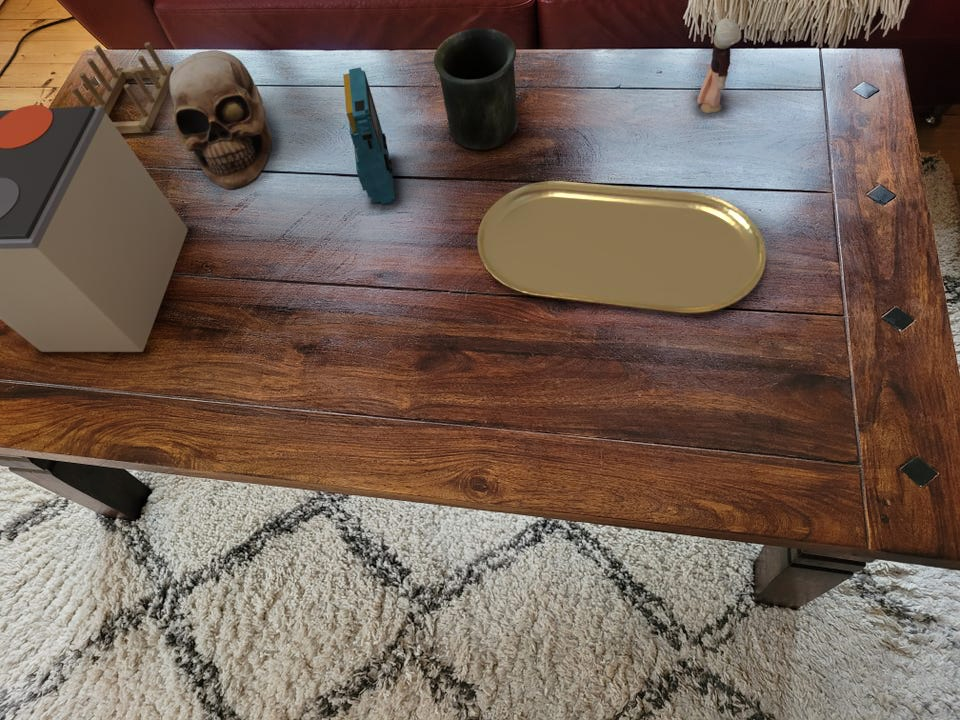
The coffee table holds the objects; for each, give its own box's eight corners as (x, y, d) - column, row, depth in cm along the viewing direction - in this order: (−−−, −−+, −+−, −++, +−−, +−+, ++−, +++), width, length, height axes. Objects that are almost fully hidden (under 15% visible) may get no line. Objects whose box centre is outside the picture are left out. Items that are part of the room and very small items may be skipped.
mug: (442, 154, 98) (427, 82, 87) (455, 87, 105) (443, 13, 95) (517, 154, 96) (511, 81, 86) (526, 86, 103) (521, 11, 93)
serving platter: (761, 330, 77) (764, 322, 76) (463, 293, 85) (461, 286, 83) (764, 207, 86) (768, 198, 85) (495, 183, 94) (494, 175, 92)
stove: (41, 352, 87) (-99, 241, 69) (96, 231, 97) (-14, 107, 79) (143, 352, 85) (27, 238, 67) (188, 229, 96) (98, 101, 77)
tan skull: (235, 195, 98) (187, 114, 87) (167, 161, 106) (116, 83, 95) (312, 133, 104) (276, 49, 93) (243, 105, 112) (202, 26, 101)
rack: (92, 134, 109) (64, 98, 103) (122, 75, 116) (98, 38, 110) (149, 132, 107) (125, 95, 101) (176, 72, 115) (154, 34, 109)
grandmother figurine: (690, 89, 99) (705, 6, 88) (717, 85, 99) (735, 1, 88) (702, 125, 95) (719, 42, 84) (730, 121, 95) (751, 38, 84)
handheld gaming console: (398, 204, 94) (371, 115, 81) (369, 210, 94) (337, 121, 81) (392, 155, 99) (366, 64, 86) (364, 160, 99) (334, 70, 86)
